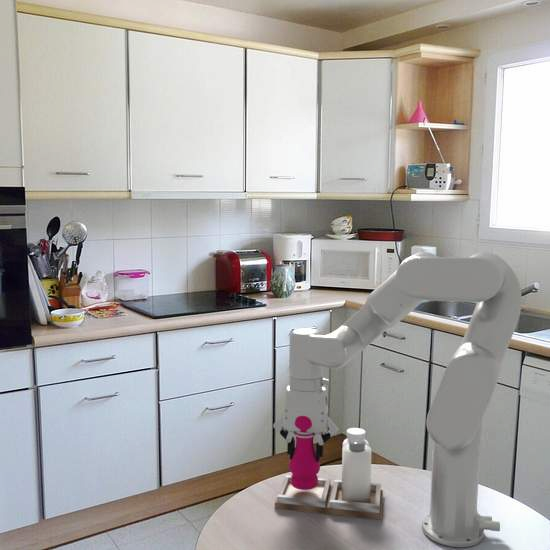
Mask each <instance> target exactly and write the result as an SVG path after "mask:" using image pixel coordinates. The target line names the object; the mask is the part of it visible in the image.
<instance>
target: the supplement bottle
mask: <svg viewBox="0 0 550 550" xmlns="http://www.w3.org/2000/svg"><path fill="white" fill-rule="evenodd" d="M345 435H346V438H345V439H344V440H343V442H342V448H343V446H345V445H347V444H349V441H350V440H353V439H359V440H363V441H364V442H365V445H367V446H369V447H370V443H369V441H368V440H367V439H366V430H365V429H363V428H361V427H360V428H359V427H351V428H350V427H349V428H347V430H346V434H345Z"/></svg>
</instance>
